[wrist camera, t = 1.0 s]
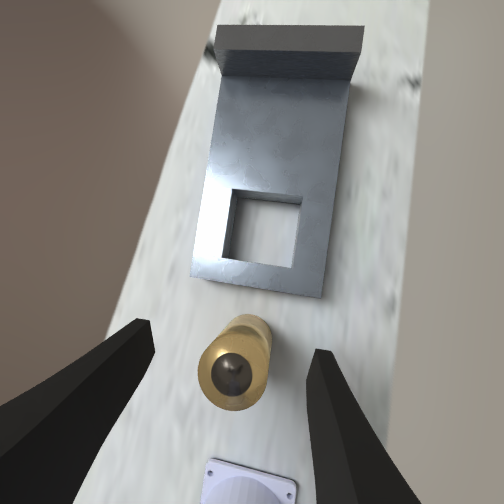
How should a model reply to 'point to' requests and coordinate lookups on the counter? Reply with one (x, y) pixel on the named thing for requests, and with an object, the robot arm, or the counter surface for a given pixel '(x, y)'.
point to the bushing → (237, 364)
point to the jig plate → (276, 145)
